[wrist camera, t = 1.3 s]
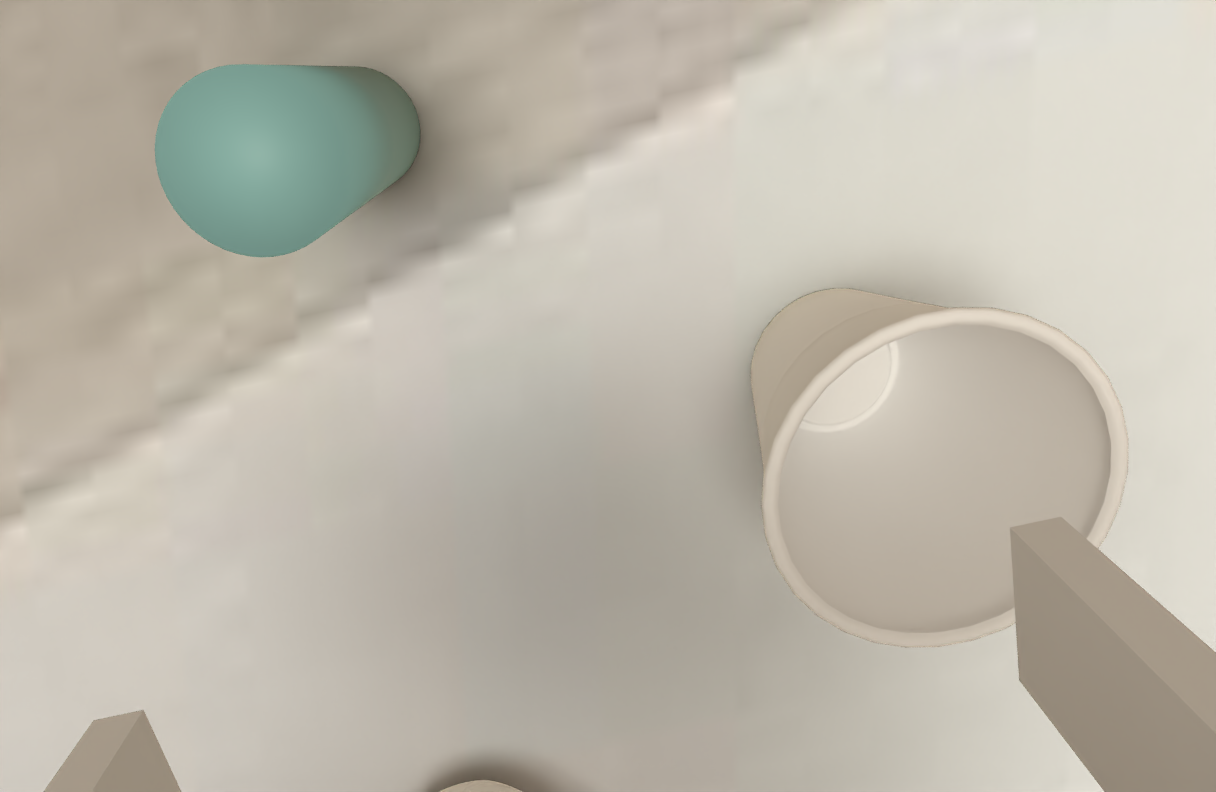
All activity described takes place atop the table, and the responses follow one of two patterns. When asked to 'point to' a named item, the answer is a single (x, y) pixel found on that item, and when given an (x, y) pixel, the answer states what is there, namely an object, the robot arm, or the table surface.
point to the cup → (924, 458)
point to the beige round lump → (481, 787)
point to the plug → (281, 151)
